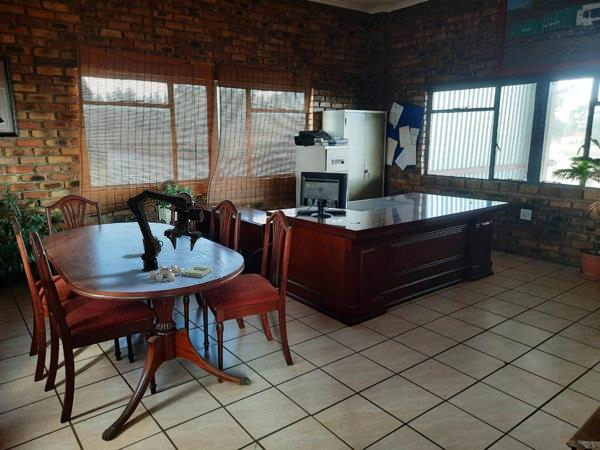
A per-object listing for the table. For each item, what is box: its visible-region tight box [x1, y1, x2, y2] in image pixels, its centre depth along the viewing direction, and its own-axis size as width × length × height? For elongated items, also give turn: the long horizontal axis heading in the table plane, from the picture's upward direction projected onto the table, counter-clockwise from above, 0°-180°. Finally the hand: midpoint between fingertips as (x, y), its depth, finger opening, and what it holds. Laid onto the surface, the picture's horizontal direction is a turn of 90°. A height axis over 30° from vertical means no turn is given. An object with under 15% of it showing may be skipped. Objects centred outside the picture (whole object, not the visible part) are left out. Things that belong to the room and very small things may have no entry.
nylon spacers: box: [149, 264, 185, 283], centre depth 222 cm, size 13×17×4 cm
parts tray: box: [184, 265, 212, 279], centre depth 228 cm, size 10×10×2 cm
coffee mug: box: [142, 235, 164, 253], centre depth 259 cm, size 12×9×10 cm
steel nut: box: [162, 267, 172, 279], centre depth 222 cm, size 5×5×4 cm
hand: (183, 250), depth 228 cm, fingers open, 9 cm apart
